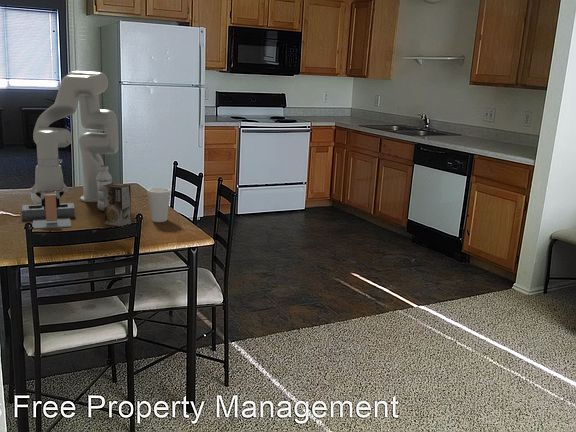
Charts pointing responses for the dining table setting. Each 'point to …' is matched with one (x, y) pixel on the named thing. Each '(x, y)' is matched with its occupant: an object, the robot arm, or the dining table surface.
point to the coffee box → (117, 204)
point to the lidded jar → (37, 199)
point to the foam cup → (158, 203)
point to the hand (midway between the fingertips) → (50, 207)
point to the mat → (51, 223)
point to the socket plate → (40, 213)
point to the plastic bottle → (102, 184)
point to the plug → (51, 207)
